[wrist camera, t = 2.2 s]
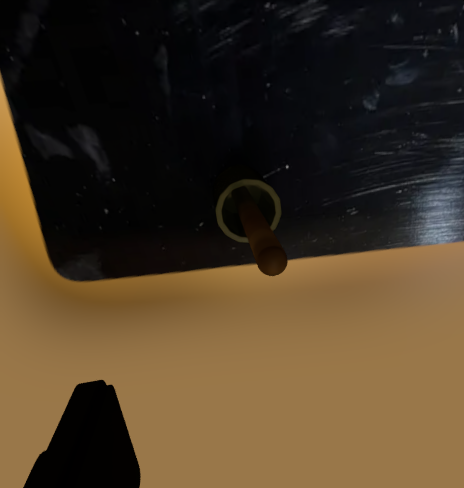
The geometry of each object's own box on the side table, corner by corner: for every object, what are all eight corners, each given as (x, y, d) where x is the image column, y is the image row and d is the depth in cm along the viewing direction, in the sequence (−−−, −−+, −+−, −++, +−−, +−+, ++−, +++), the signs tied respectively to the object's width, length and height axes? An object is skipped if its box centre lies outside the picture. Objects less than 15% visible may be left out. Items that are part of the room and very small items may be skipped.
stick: (232, 201, 32) (261, 283, 17) (229, 185, 31) (257, 254, 16) (248, 199, 32) (292, 278, 17) (246, 182, 32) (289, 249, 16)
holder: (217, 220, 33) (221, 248, 26) (208, 168, 31) (211, 184, 25) (267, 212, 33) (284, 237, 26) (261, 160, 31) (277, 173, 25)
